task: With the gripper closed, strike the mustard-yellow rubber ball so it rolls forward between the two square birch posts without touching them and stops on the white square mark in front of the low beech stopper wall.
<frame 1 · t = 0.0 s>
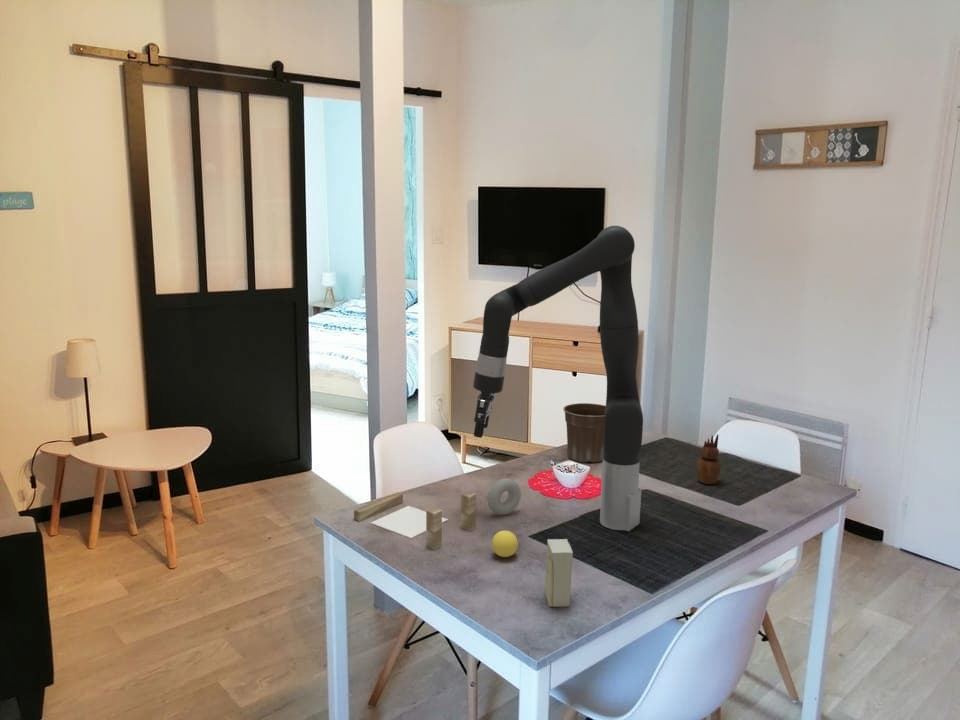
hand: (480, 431, 193), 22 cm above the table, tool pointing down, fingers open, 8 cm apart
skincare box: (557, 600, 155), on the table
wooden figurine: (707, 483, 222), on the table
plant pot: (586, 457, 243), on the table
stopper wall: (379, 510, 199), on the table
post right: (468, 528, 189), on the table
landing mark: (409, 521, 192), on the table
post left: (434, 546, 179), on the table
donut: (503, 515, 197), on the table
ball: (504, 543, 173), on the table
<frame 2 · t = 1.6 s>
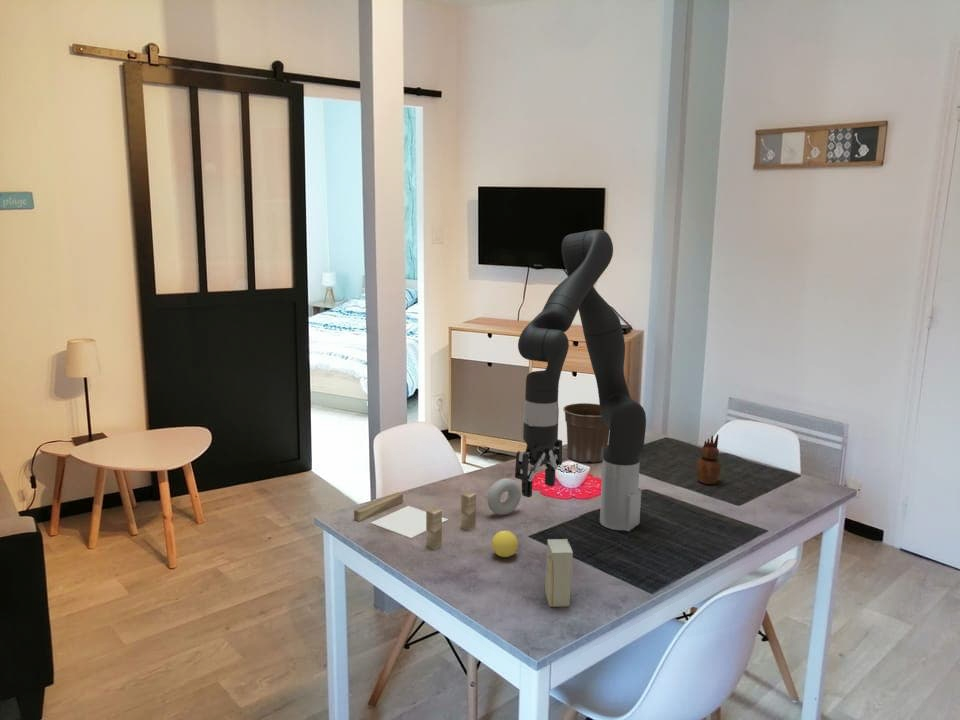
hand: (538, 490, 165), 18 cm above the table, tool pointing down, fingers open, 8 cm apart
nothing on the table moved.
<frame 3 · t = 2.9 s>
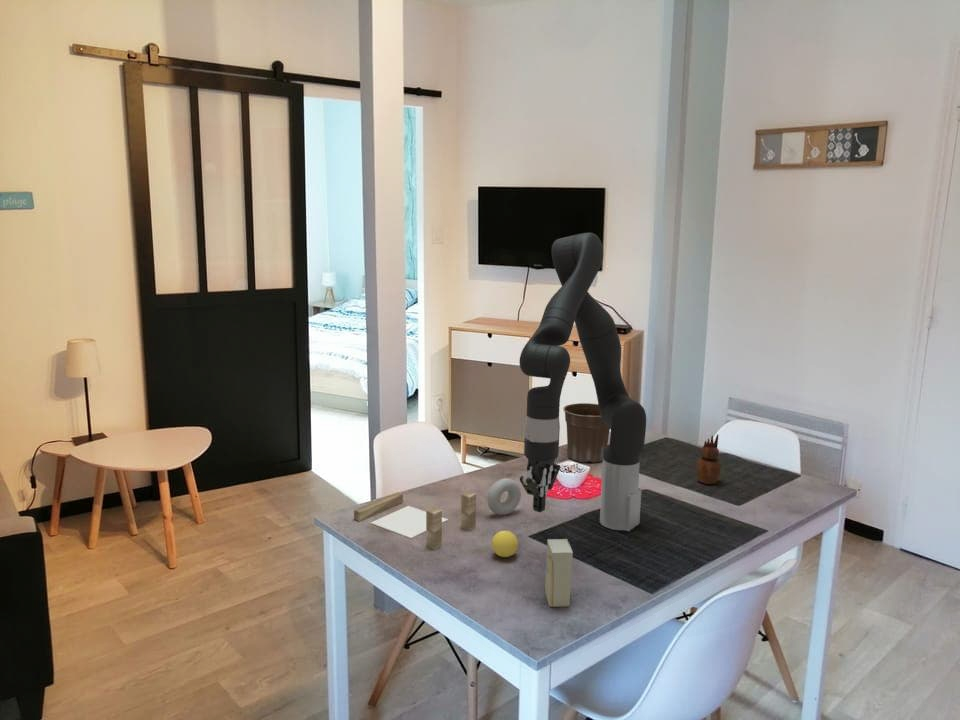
hand: (538, 510, 166), 14 cm above the table, tool pointing down, fingers closed
nothing on the table moved.
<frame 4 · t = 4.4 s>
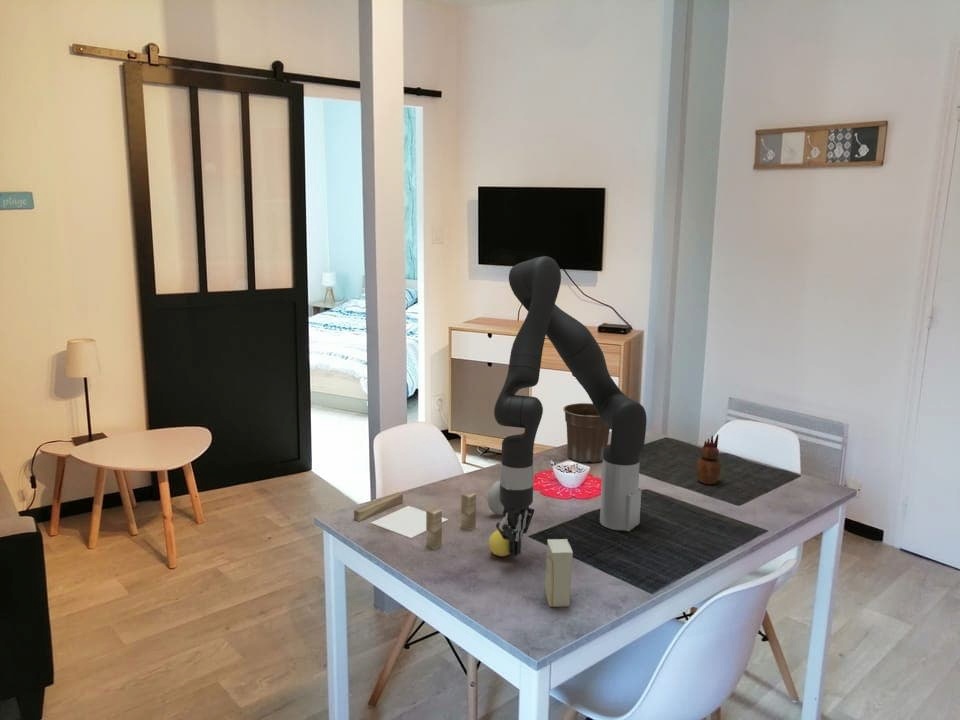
hand: (514, 554, 171), 2 cm above the table, tool pointing down, fingers closed
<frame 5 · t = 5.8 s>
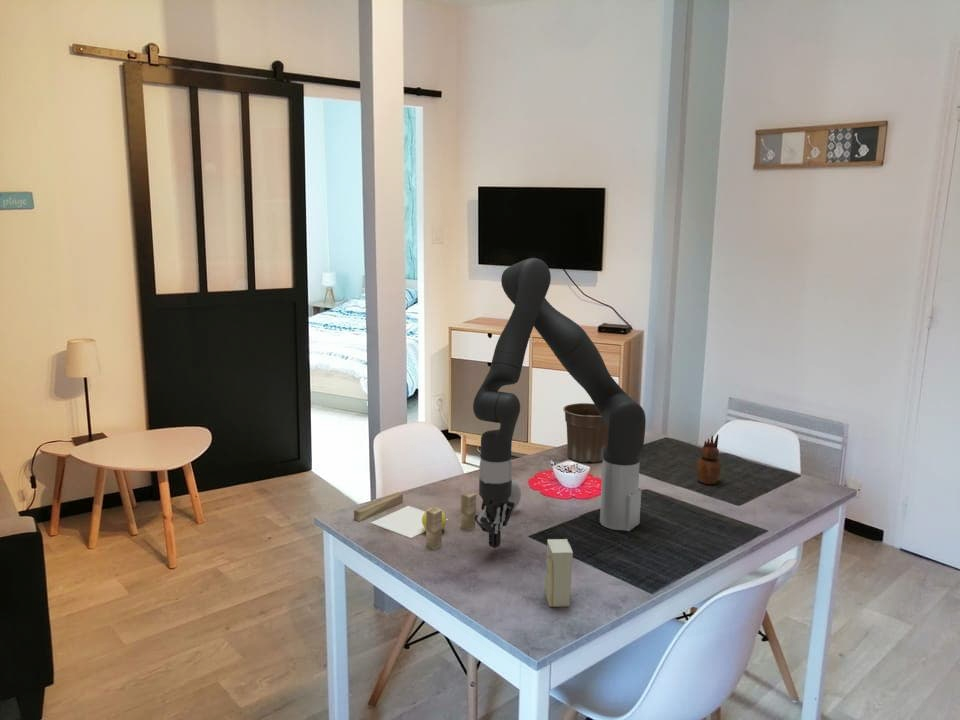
hand: (494, 546, 176), 1 cm above the table, tool pointing down, fingers closed
ball: (434, 519, 186), on the table
everything else where it was.
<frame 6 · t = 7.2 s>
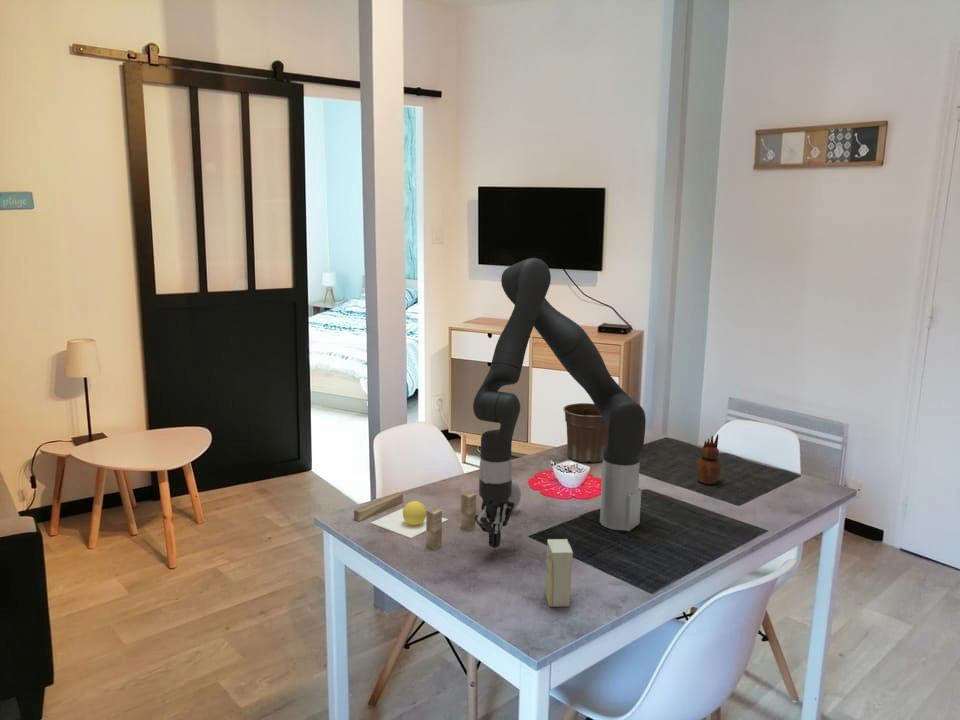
hand: (494, 546, 176), 1 cm above the table, tool pointing down, fingers closed
ball: (414, 513, 190), on the table
everything else where it was.
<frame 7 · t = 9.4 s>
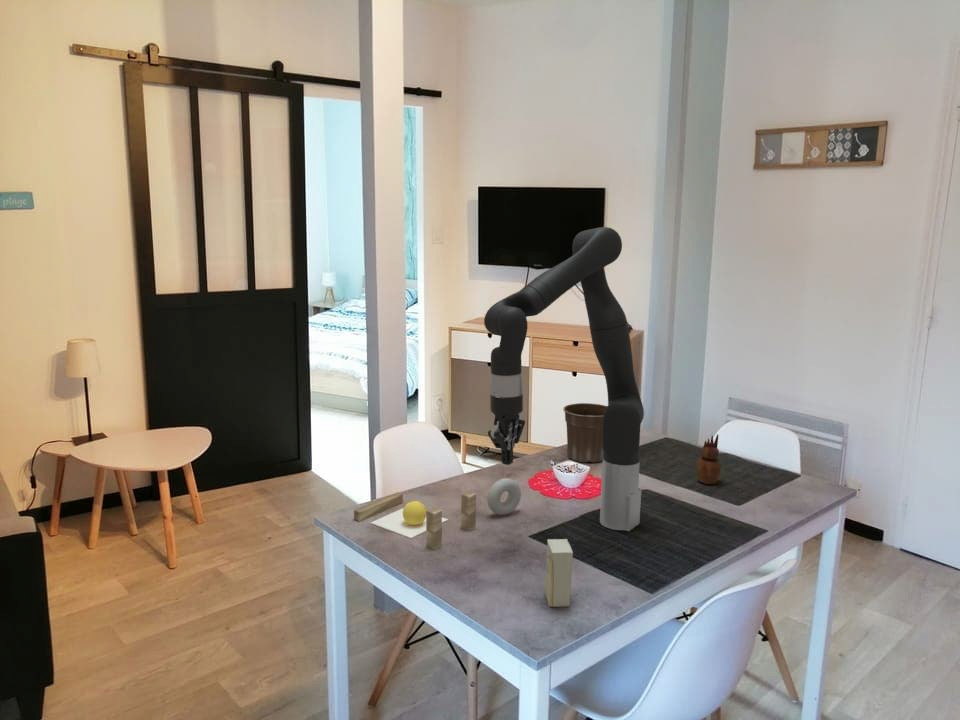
hand: (507, 463, 176), 20 cm above the table, tool pointing down, fingers closed
nothing on the table moved.
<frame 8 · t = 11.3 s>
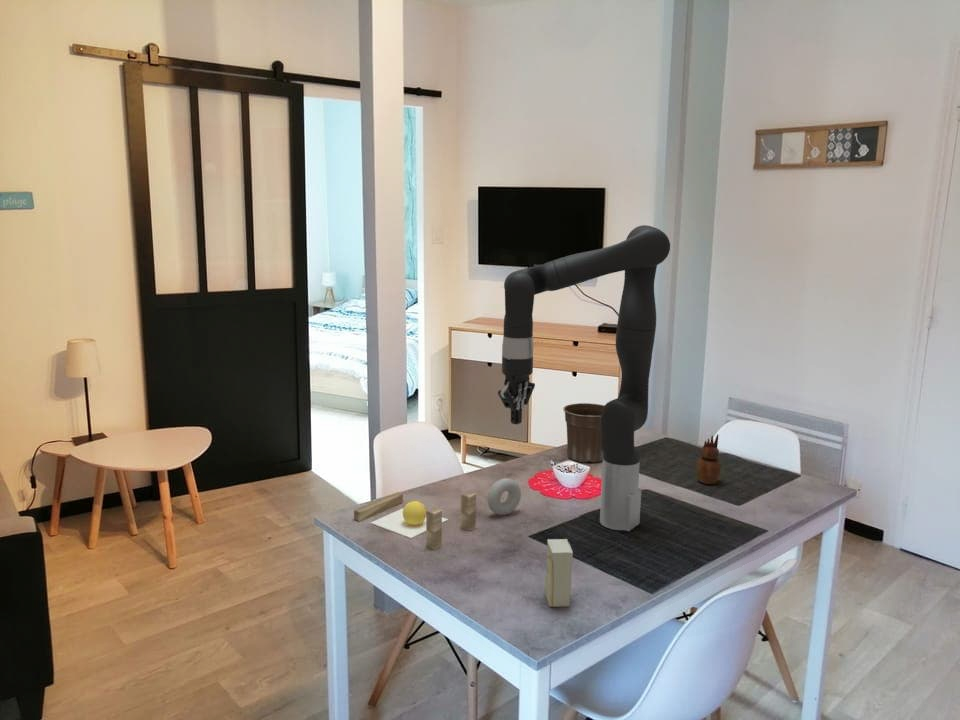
hand: (516, 423, 185), 27 cm above the table, tool pointing down, fingers closed
nothing on the table moved.
at the end: ball 2.0 cm from the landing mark (horizontally); ball never touched post left; ball never touched post right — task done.
